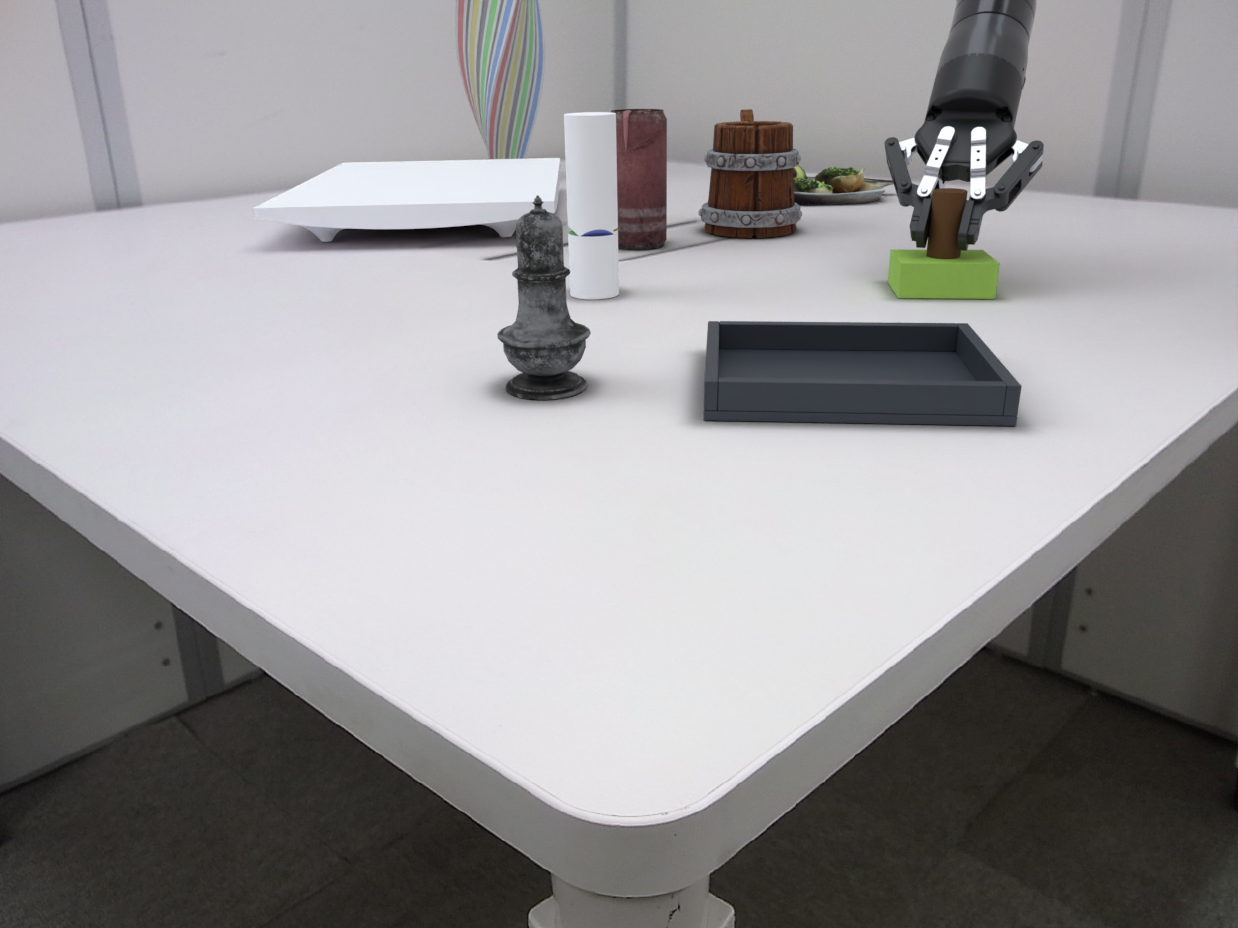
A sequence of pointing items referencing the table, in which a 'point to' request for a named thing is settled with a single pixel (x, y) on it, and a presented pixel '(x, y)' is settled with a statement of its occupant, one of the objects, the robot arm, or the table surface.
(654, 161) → the can
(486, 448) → the table surface
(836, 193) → the salad plate
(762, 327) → the tray
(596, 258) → the tube
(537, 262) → the salt shaker
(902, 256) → the green block brown handle
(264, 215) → the board
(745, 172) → the mug
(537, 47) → the vase
